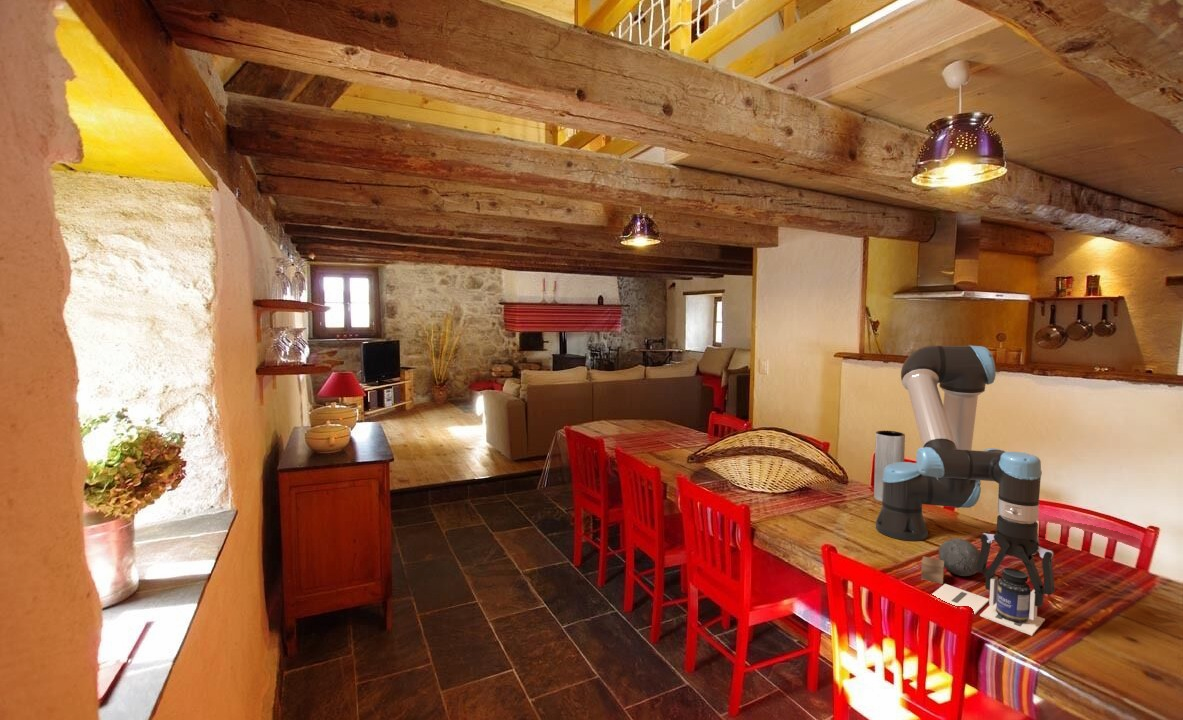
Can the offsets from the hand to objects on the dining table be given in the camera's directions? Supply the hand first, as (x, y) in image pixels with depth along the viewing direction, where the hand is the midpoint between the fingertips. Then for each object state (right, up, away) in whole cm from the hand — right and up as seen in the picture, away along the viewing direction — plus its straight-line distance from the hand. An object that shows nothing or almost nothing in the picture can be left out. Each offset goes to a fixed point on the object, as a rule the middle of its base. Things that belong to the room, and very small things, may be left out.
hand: (1012, 610), depth 125 cm
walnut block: (-7, -1, +19) cm, 21 cm away
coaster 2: (0, -2, 0) cm, 2 cm away
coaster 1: (-6, -1, +9) cm, 11 cm away
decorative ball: (+3, 0, +22) cm, 22 cm away
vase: (+17, +4, +82) cm, 84 cm away
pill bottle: (0, -2, 0) cm, 2 cm away
